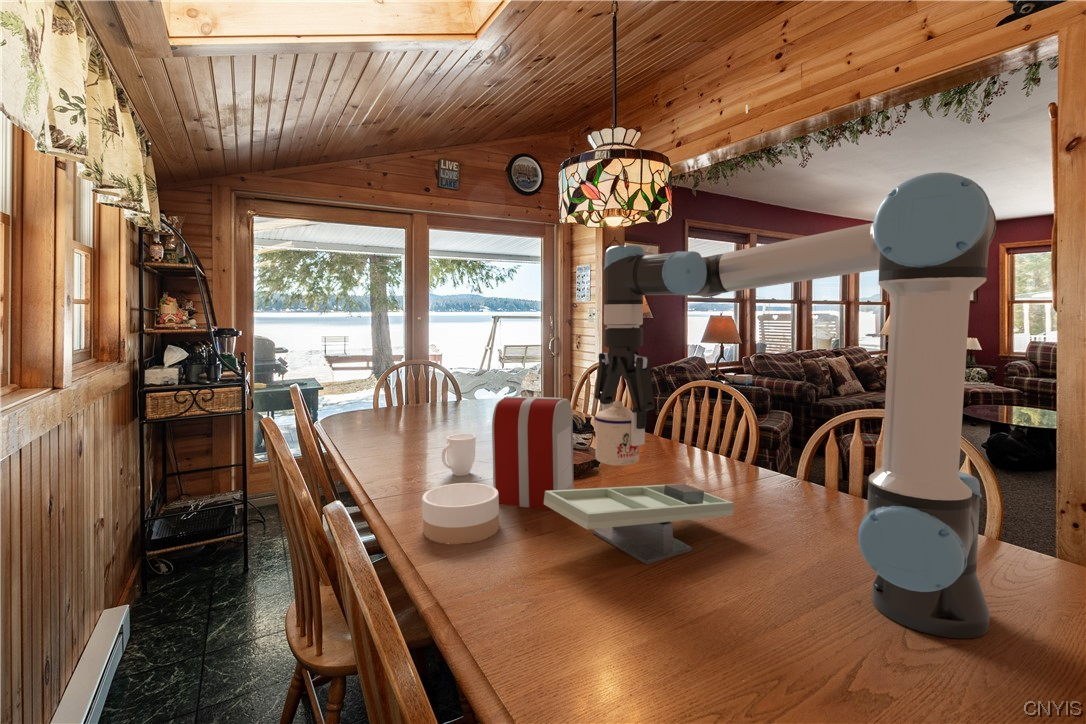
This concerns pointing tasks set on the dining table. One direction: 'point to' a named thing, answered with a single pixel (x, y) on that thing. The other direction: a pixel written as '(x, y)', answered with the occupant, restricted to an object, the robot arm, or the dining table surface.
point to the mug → (460, 453)
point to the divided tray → (630, 506)
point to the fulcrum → (645, 541)
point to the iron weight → (684, 493)
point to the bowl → (460, 513)
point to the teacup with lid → (615, 436)
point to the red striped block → (531, 449)
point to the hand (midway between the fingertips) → (622, 439)
